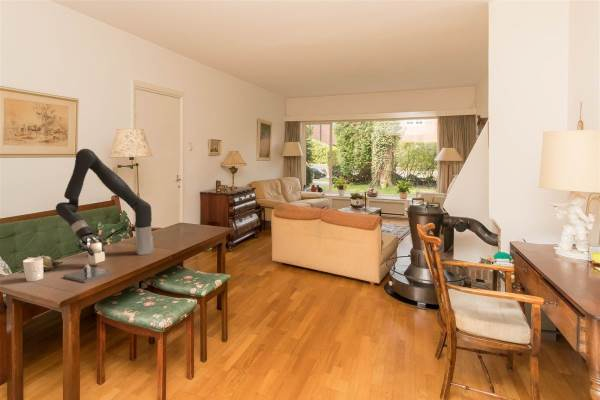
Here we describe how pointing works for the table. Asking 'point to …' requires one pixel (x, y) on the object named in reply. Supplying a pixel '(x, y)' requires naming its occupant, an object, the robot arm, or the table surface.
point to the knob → (96, 253)
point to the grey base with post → (87, 274)
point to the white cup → (33, 269)
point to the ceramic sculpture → (47, 262)
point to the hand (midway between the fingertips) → (98, 253)
